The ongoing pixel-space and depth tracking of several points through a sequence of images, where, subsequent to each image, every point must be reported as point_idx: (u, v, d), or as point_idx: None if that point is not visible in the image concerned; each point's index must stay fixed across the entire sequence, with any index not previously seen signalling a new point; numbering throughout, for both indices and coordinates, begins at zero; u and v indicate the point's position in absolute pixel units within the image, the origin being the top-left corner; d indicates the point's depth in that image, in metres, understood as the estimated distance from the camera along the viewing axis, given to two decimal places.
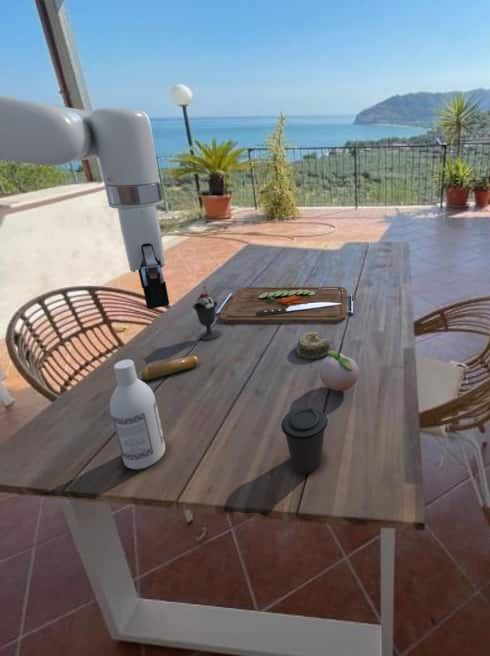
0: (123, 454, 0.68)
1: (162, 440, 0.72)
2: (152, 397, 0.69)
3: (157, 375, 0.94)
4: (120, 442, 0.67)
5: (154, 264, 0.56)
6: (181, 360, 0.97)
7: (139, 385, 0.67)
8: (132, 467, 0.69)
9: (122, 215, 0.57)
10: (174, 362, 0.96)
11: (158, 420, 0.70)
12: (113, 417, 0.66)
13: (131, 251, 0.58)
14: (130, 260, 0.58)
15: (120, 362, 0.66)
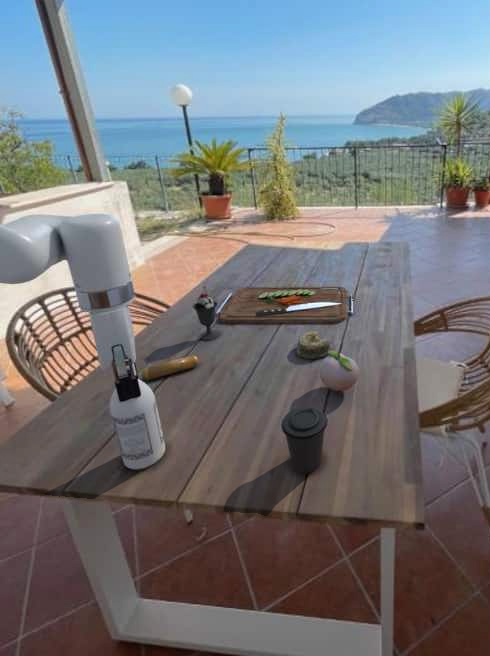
0: (123, 454, 0.68)
1: (162, 440, 0.72)
2: (152, 397, 0.69)
3: (157, 375, 0.94)
4: (120, 442, 0.67)
5: (125, 375, 0.59)
6: (181, 360, 0.97)
7: (139, 385, 0.67)
8: (132, 467, 0.69)
9: (92, 320, 0.57)
10: (174, 362, 0.96)
11: (158, 420, 0.70)
12: (113, 417, 0.66)
13: (101, 354, 0.59)
14: (100, 361, 0.59)
15: None
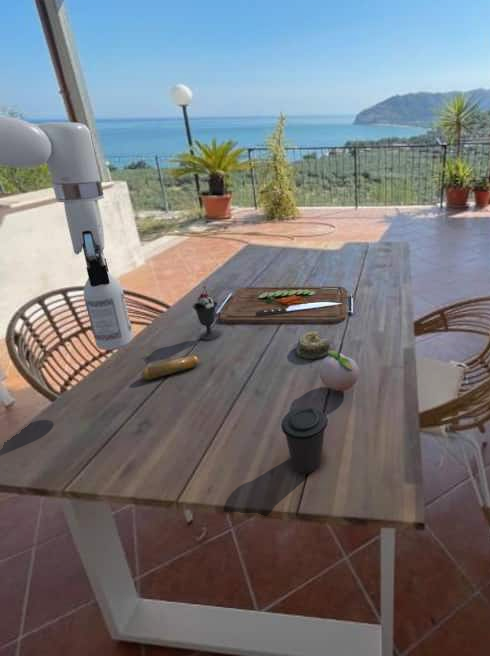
0: (95, 336, 0.81)
1: (129, 328, 0.84)
2: (120, 288, 0.81)
3: (157, 375, 0.94)
4: (92, 324, 0.80)
5: (94, 256, 0.72)
6: (181, 360, 0.97)
7: (108, 276, 0.80)
8: (103, 347, 0.82)
9: (65, 207, 0.70)
10: (174, 362, 0.96)
11: (126, 310, 0.83)
12: (86, 300, 0.78)
13: (74, 237, 0.71)
14: (73, 244, 0.72)
15: None
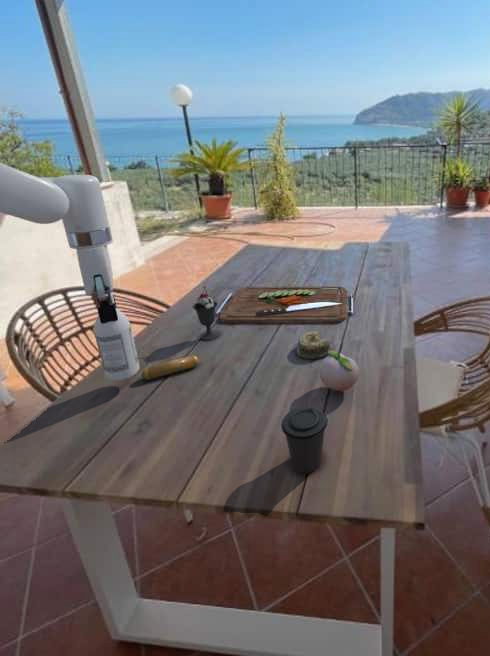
0: (105, 368, 0.87)
1: (136, 360, 0.90)
2: (127, 323, 0.87)
3: (157, 375, 0.94)
4: (102, 357, 0.86)
5: (104, 298, 0.78)
6: (181, 360, 0.97)
7: (117, 312, 0.85)
8: (112, 379, 0.87)
9: (78, 254, 0.76)
10: (174, 362, 0.96)
11: (133, 343, 0.89)
12: (96, 336, 0.84)
13: (85, 281, 0.77)
14: (85, 287, 0.77)
15: None
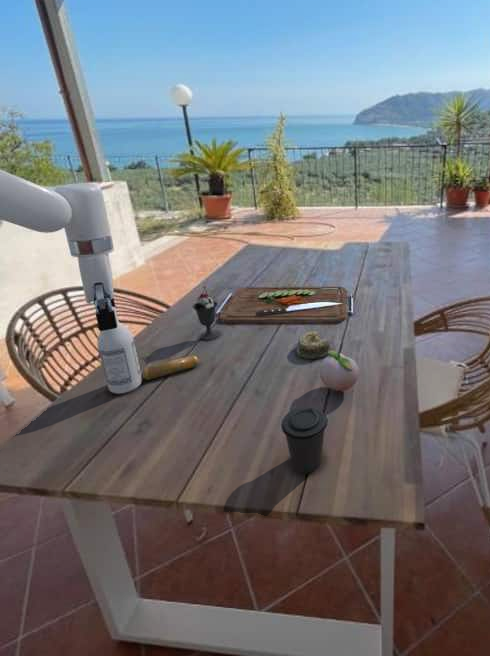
0: (108, 381, 0.88)
1: (139, 373, 0.91)
2: (130, 337, 0.88)
3: (157, 375, 0.94)
4: (105, 371, 0.87)
5: (102, 299, 0.76)
6: (181, 360, 0.97)
7: (120, 327, 0.86)
8: (115, 392, 0.88)
9: (79, 262, 0.76)
10: (174, 362, 0.96)
11: (135, 356, 0.90)
12: (100, 350, 0.85)
13: (86, 289, 0.77)
14: (85, 295, 0.78)
15: None
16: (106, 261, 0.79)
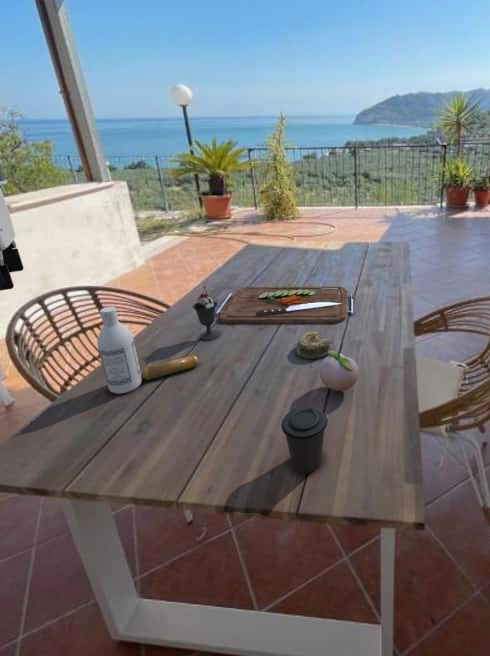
0: (108, 381, 0.88)
1: (139, 373, 0.91)
2: (130, 337, 0.88)
3: (157, 375, 0.94)
4: (105, 371, 0.87)
5: None
6: (181, 360, 0.97)
7: (120, 327, 0.86)
8: (115, 392, 0.88)
9: None
10: (174, 362, 0.96)
11: (135, 356, 0.90)
12: (100, 350, 0.85)
13: None
14: None
15: (105, 308, 0.85)
16: None
